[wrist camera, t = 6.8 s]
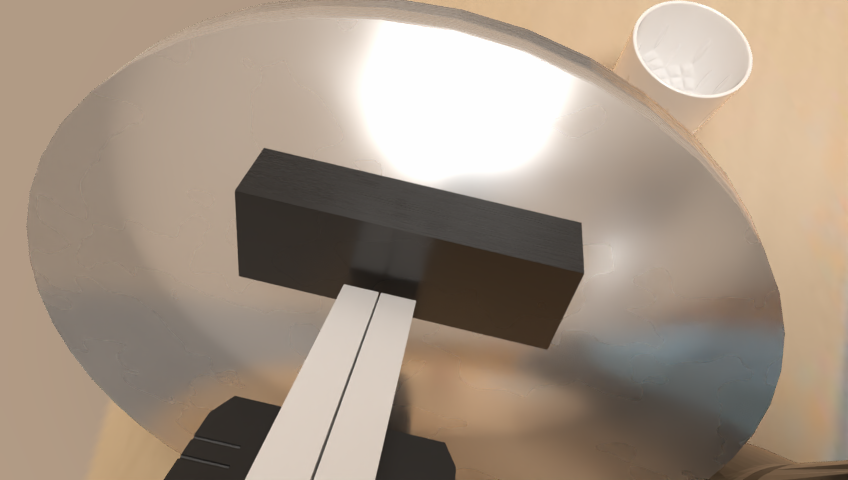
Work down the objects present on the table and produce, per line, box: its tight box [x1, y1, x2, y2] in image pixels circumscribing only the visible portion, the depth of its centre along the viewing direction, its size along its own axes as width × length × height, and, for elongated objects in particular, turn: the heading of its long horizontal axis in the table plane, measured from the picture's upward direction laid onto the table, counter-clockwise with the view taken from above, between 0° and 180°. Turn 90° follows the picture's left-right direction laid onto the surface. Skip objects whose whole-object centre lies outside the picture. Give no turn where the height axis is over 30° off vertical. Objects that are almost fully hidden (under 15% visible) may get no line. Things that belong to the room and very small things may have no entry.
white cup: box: [612, 0, 753, 134], centre depth 44 cm, size 8×8×10 cm
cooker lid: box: [27, 0, 785, 480], centre depth 17 cm, size 21×21×4 cm
